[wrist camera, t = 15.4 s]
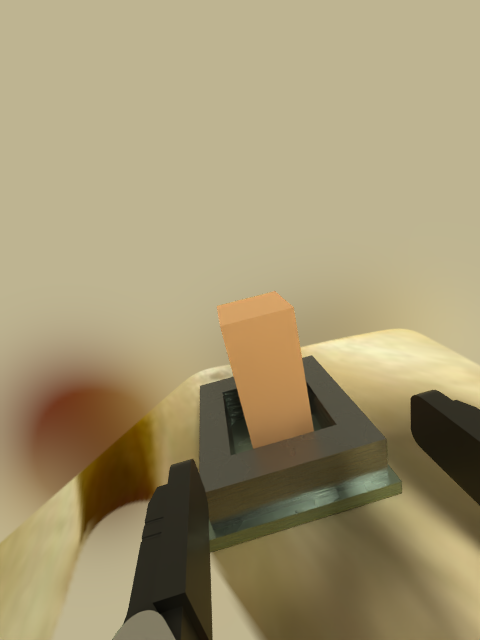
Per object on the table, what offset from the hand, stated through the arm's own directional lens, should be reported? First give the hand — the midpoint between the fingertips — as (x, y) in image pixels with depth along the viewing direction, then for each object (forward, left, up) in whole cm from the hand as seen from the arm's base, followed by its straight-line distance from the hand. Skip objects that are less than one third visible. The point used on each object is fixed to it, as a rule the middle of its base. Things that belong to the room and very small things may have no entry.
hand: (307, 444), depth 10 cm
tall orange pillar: (0, +10, -8) cm, 13 cm away
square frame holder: (0, +10, -9) cm, 13 cm away
